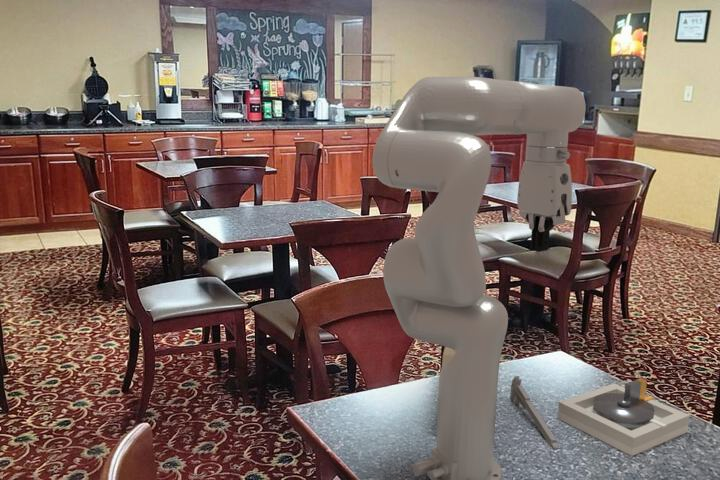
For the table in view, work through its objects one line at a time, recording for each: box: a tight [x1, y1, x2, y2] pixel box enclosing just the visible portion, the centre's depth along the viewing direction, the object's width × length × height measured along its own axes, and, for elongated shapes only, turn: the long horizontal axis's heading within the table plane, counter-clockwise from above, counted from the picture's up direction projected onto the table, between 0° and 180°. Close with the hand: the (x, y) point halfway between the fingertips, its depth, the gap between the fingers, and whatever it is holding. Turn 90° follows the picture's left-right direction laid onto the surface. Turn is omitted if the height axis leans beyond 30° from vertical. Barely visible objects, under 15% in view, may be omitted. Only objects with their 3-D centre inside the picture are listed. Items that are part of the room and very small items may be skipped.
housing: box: [557, 382, 691, 457], centre depth 134 cm, size 17×17×4 cm
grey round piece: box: [593, 377, 654, 431], centre depth 134 cm, size 11×11×7 cm
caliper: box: [509, 375, 560, 450], centre depth 135 cm, size 20×1×6 cm, turn 11°
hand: (539, 250), depth 135 cm, fingers closed
